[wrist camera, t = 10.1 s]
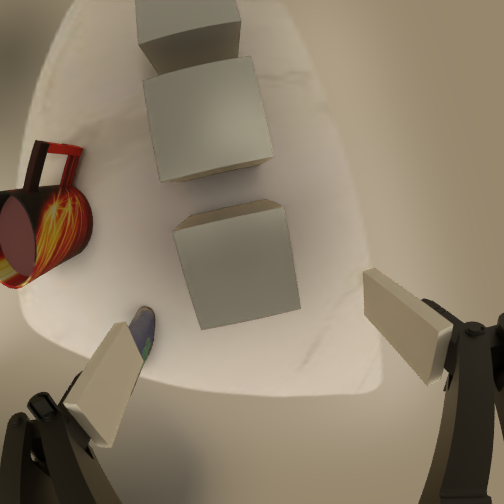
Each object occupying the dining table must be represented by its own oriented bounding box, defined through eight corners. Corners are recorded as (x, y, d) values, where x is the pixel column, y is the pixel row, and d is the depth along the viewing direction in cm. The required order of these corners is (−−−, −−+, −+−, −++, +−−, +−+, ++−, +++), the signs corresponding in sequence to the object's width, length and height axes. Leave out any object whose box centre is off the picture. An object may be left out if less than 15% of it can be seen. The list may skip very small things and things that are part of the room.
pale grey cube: (155, 26, 24) (134, -16, 14) (224, 10, 24) (224, -36, 15) (162, 80, 26) (138, 44, 17) (237, 63, 27) (241, 20, 17)
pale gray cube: (167, 109, 28) (142, 80, 18) (244, 91, 28) (250, 56, 18) (181, 181, 30) (160, 182, 20) (259, 164, 30) (274, 156, 20)
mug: (87, 145, 28) (29, 134, 16) (98, 254, 31) (47, 287, 19) (33, 162, 27) (-26, 162, 15) (45, 259, 30) (-9, 289, 19)
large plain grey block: (189, 216, 31) (172, 231, 21) (266, 199, 31) (283, 206, 21) (208, 288, 33) (201, 330, 24) (280, 272, 33) (300, 308, 24)
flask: (139, 303, 33) (110, 348, 23) (160, 310, 34) (137, 359, 23) (130, 356, 35) (107, 406, 25) (149, 363, 35) (130, 415, 25)
